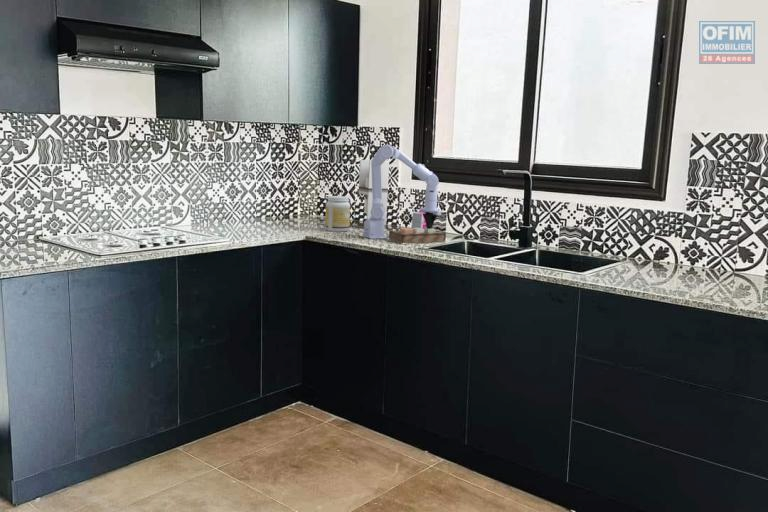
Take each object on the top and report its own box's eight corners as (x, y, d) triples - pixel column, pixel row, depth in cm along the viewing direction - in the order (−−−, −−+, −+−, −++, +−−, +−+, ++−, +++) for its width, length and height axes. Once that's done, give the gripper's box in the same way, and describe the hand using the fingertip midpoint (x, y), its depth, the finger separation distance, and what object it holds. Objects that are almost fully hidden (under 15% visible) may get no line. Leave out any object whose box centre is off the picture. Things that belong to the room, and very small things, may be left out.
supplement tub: (353, 230, 348) (355, 197, 345) (341, 233, 337) (342, 198, 334) (333, 228, 353) (334, 195, 350) (320, 230, 342) (321, 196, 340)
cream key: (416, 236, 321) (416, 229, 320) (411, 235, 324) (411, 227, 324) (424, 236, 323) (424, 229, 323) (418, 235, 327) (419, 227, 326)
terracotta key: (404, 237, 317) (405, 229, 317) (399, 235, 321) (399, 228, 320) (412, 236, 320) (413, 229, 319) (407, 235, 323) (407, 228, 323)
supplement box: (420, 236, 340) (421, 213, 338) (410, 234, 343) (411, 212, 341) (426, 235, 344) (428, 212, 342) (417, 234, 348) (418, 211, 346)
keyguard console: (402, 244, 313) (403, 234, 312) (388, 239, 323) (389, 230, 322) (445, 242, 326) (445, 233, 325) (430, 238, 336) (431, 229, 335)
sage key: (427, 236, 324) (428, 229, 324) (422, 235, 328) (422, 227, 327) (435, 236, 327) (435, 229, 326) (429, 234, 330) (430, 227, 330)
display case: (375, 226, 369) (378, 160, 363) (385, 229, 360) (389, 161, 354) (356, 226, 363) (359, 159, 357) (366, 229, 354) (370, 161, 348)
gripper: (447, 201, 320) (445, 230, 323) (429, 198, 332) (427, 226, 335) (434, 201, 317) (433, 231, 319) (417, 198, 329) (415, 226, 331)
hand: (429, 228), depth 327 cm, fingers closed, pressing on sage key
